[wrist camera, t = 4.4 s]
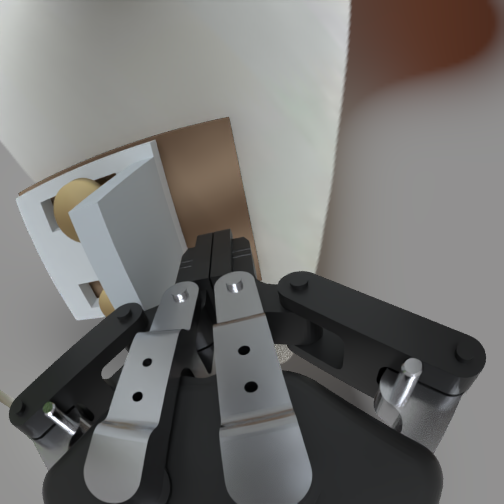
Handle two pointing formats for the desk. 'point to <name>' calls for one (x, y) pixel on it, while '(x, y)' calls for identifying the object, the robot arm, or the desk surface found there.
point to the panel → (110, 233)
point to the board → (178, 187)
